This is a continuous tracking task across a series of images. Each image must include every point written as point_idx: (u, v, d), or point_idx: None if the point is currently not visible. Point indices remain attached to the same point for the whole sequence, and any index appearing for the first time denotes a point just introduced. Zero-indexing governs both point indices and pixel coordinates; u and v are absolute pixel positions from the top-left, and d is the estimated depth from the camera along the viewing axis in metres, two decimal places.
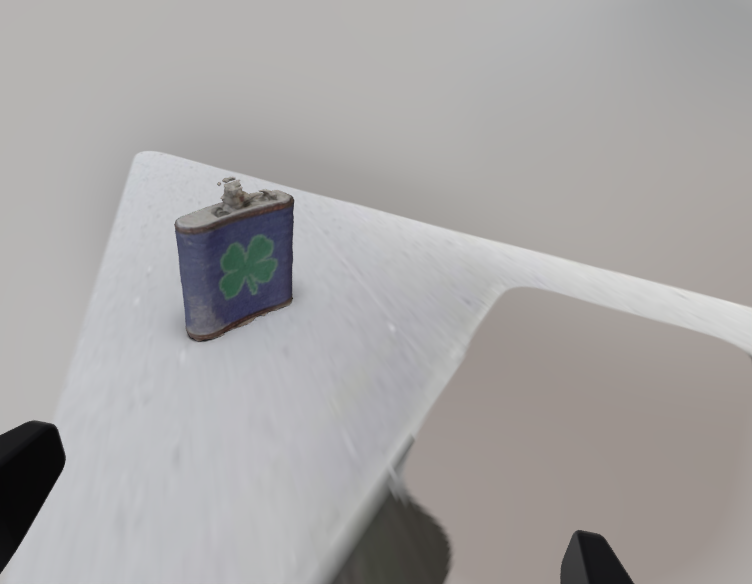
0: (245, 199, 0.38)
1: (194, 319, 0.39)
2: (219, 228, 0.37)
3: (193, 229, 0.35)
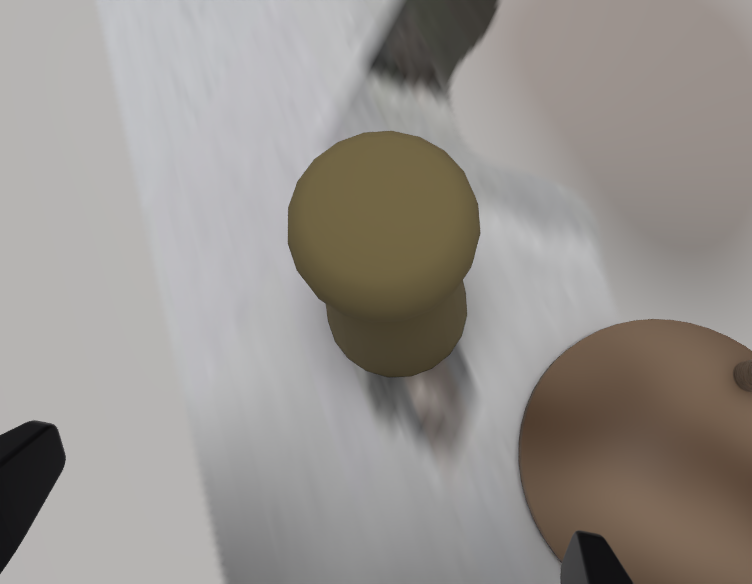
0: None
1: None
2: None
3: None
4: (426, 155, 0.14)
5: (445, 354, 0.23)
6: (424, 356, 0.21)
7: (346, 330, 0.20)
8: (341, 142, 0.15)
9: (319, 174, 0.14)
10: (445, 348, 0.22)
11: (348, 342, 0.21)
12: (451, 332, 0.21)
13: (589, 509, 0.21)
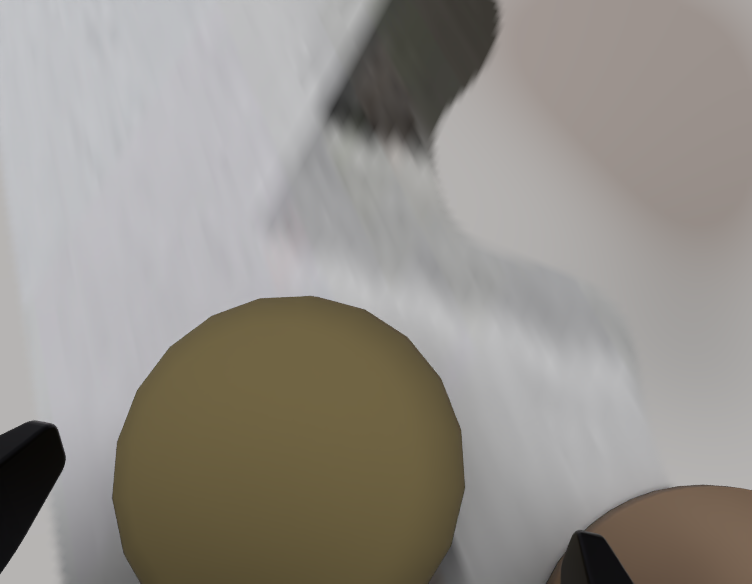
0: None
1: None
2: None
3: None
4: (360, 365, 0.07)
5: None
6: None
7: None
8: (210, 328, 0.08)
9: (162, 397, 0.08)
10: None
11: None
12: None
13: None
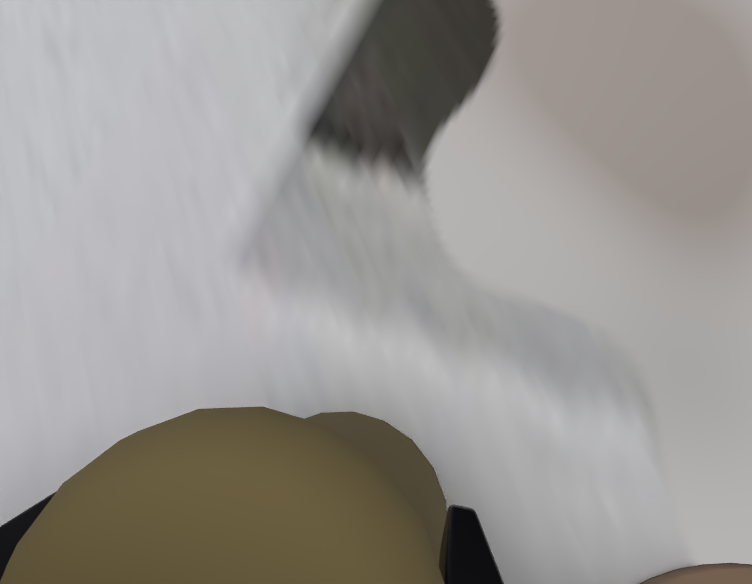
0: None
1: None
2: None
3: None
4: (306, 534, 0.05)
5: None
6: None
7: None
8: (107, 470, 0.06)
9: (34, 575, 0.06)
10: None
11: None
12: None
13: None
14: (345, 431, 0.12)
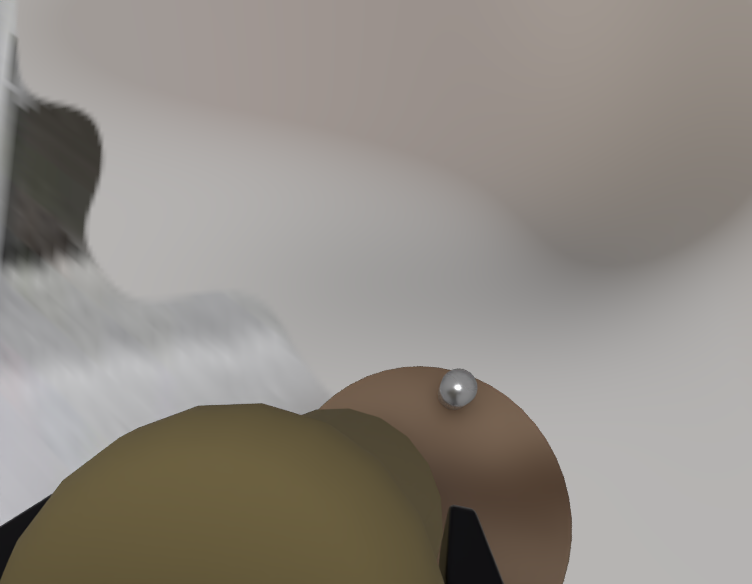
0: None
1: None
2: None
3: None
4: (308, 529, 0.05)
5: None
6: None
7: None
8: (108, 467, 0.06)
9: (35, 571, 0.06)
10: None
11: None
12: None
13: None
14: (341, 428, 0.12)
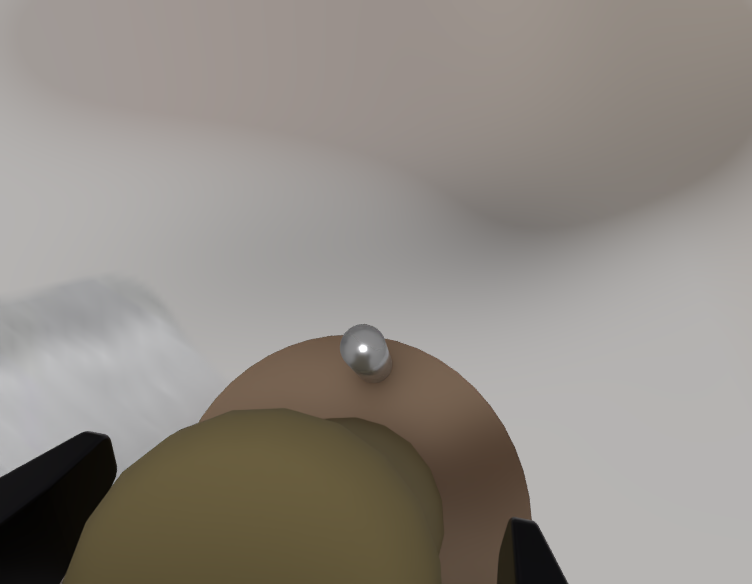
0: None
1: None
2: None
3: None
4: (327, 508, 0.07)
5: None
6: None
7: None
8: (163, 459, 0.07)
9: (108, 542, 0.07)
10: None
11: None
12: None
13: None
14: None
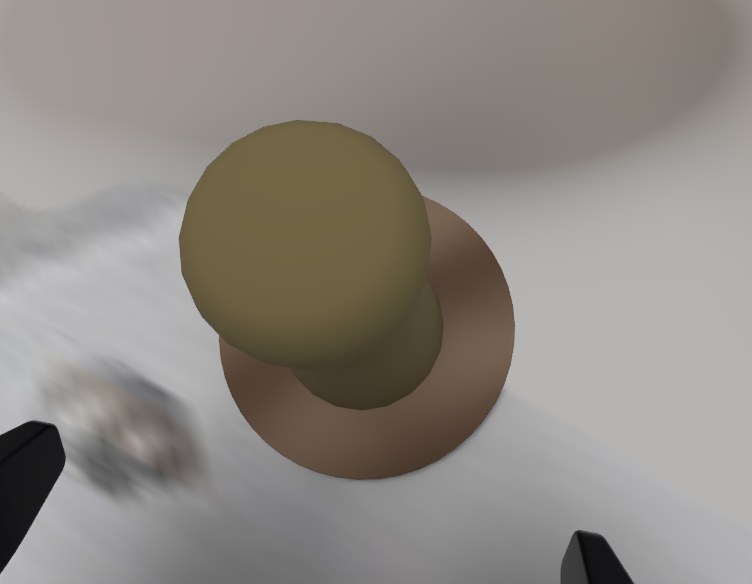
0: None
1: None
2: None
3: None
4: (344, 145, 0.11)
5: (424, 375, 0.20)
6: (397, 384, 0.18)
7: (297, 370, 0.16)
8: (234, 143, 0.11)
9: (208, 188, 0.11)
10: (422, 369, 0.19)
11: (305, 380, 0.18)
12: (425, 351, 0.18)
13: (330, 416, 0.20)
14: None
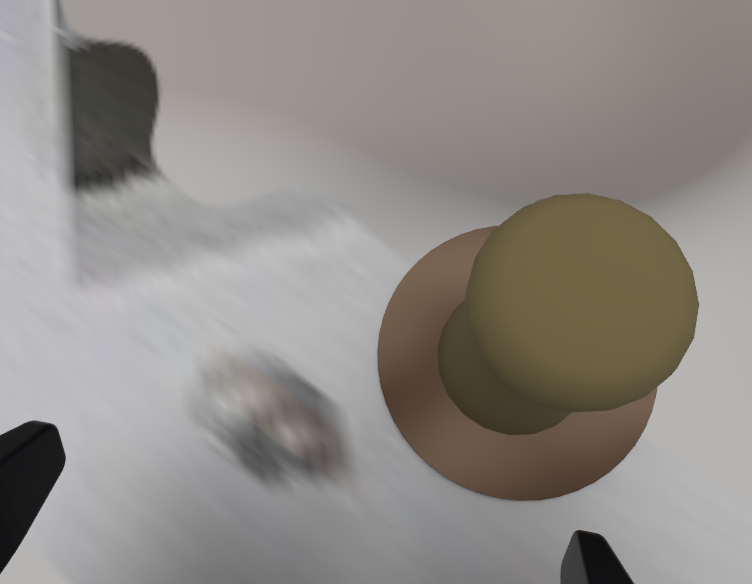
0: None
1: None
2: None
3: None
4: (643, 226, 0.12)
5: None
6: (560, 418, 0.20)
7: (488, 397, 0.18)
8: (538, 209, 0.13)
9: (519, 247, 0.12)
10: None
11: (479, 404, 0.19)
12: None
13: (478, 436, 0.22)
14: None
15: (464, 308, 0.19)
